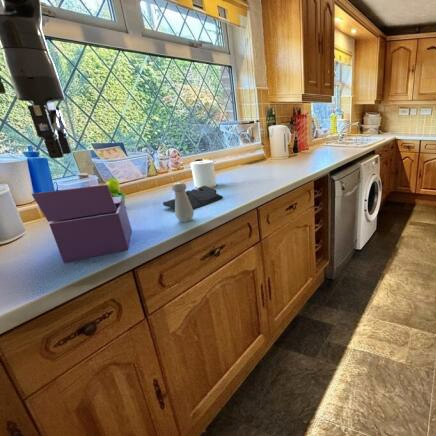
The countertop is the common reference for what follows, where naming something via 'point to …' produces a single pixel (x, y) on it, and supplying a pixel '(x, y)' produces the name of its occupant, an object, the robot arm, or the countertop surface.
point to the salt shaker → (182, 203)
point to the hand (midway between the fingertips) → (61, 155)
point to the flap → (75, 202)
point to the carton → (93, 234)
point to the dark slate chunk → (198, 197)
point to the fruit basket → (115, 188)
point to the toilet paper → (203, 173)
